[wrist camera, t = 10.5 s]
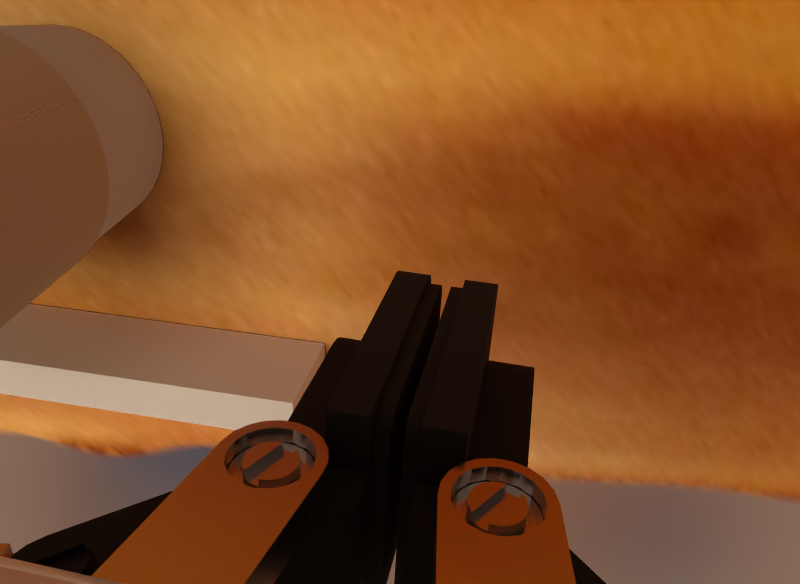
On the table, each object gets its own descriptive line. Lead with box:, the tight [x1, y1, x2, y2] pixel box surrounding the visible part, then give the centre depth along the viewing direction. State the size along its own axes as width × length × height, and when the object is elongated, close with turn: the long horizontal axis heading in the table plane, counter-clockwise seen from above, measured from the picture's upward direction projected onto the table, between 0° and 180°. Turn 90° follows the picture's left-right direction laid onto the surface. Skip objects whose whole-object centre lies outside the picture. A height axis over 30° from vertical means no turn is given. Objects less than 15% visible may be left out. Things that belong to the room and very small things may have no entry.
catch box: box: [0, 304, 325, 430], centre depth 20 cm, size 16×18×10 cm
